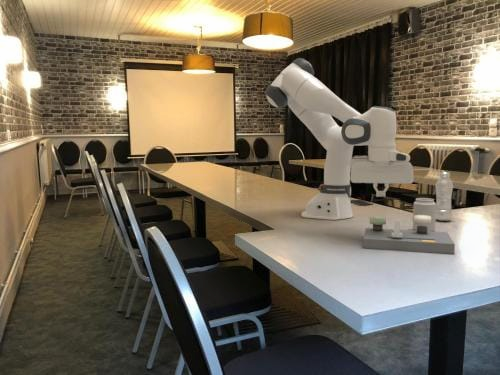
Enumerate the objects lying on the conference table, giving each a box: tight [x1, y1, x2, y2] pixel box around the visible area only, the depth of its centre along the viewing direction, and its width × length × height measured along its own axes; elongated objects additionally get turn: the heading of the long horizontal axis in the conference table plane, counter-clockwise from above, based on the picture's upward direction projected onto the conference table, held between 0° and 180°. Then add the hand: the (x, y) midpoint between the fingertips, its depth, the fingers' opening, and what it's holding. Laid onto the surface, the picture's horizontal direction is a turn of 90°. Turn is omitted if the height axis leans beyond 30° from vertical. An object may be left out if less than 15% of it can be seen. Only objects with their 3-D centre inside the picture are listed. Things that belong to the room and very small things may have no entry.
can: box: [412, 197, 436, 232], centre depth 152 cm, size 8×8×12 cm
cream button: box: [414, 215, 431, 223], centre depth 136 cm, size 5×5×2 cm
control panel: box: [362, 224, 456, 255], centre depth 134 cm, size 26×16×5 cm, turn 72°
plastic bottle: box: [434, 171, 454, 222], centre depth 168 cm, size 6×7×20 cm
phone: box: [350, 199, 374, 207], centre depth 216 cm, size 8×1×15 cm
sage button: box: [369, 216, 387, 226], centre depth 141 cm, size 5×5×2 cm
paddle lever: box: [392, 218, 403, 238], centre depth 130 cm, size 3×4×5 cm
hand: (380, 196), depth 140 cm, fingers closed
